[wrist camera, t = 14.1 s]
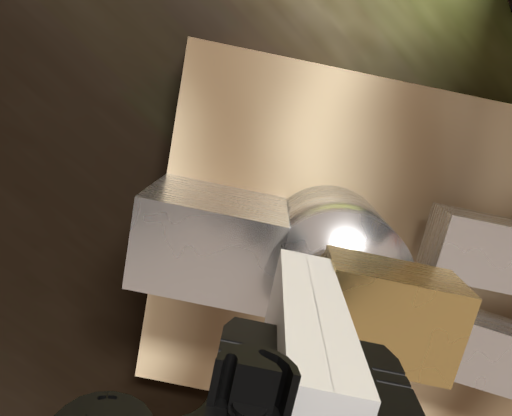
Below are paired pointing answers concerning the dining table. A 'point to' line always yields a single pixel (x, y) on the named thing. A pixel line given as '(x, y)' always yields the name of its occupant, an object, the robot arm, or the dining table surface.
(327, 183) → the board
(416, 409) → the robot arm
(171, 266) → the base
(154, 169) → the dining table surface
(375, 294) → the tab
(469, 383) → the tong arm
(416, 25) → the dining table surface
